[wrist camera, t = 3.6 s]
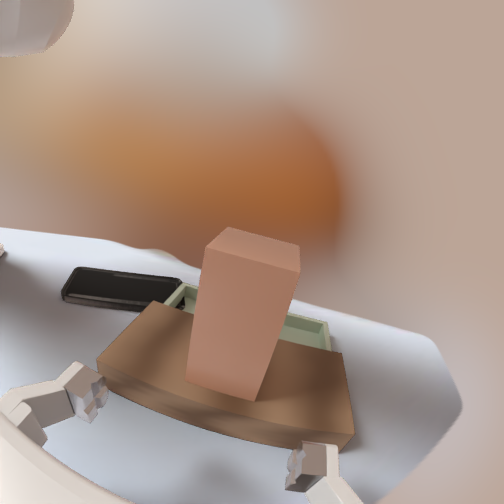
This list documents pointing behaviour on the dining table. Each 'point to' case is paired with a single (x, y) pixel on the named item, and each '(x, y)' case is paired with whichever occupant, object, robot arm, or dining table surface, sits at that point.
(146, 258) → the dining table surface
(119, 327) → the dining table surface
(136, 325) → the platform
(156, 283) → the phone
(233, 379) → the terracotta block
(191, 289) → the box
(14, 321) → the dining table surface
